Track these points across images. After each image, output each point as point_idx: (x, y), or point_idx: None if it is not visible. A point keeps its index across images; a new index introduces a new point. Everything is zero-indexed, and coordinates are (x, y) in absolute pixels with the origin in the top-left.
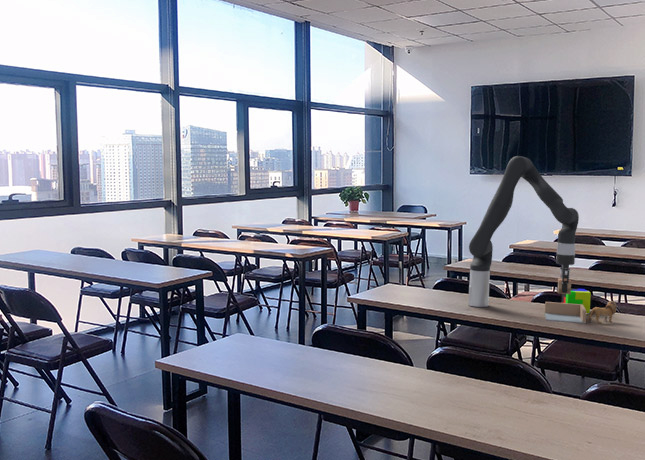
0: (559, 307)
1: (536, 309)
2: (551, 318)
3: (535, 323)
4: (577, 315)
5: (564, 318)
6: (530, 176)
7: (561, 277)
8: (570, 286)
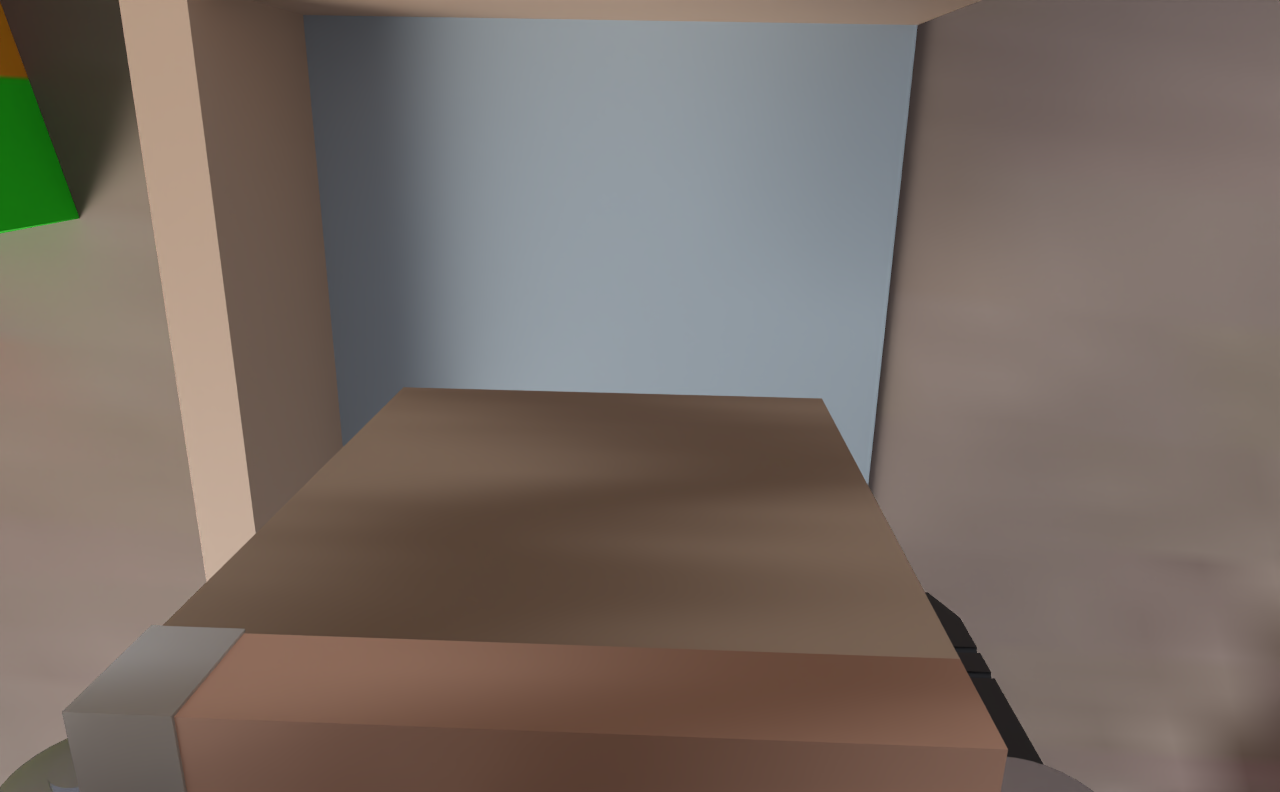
0: (286, 421)
1: (60, 671)
2: None
3: (1121, 753)
4: (306, 56)
5: (681, 327)
6: None
7: None
8: (890, 550)
